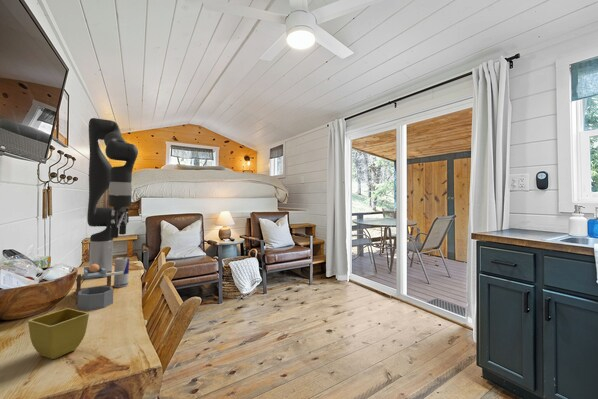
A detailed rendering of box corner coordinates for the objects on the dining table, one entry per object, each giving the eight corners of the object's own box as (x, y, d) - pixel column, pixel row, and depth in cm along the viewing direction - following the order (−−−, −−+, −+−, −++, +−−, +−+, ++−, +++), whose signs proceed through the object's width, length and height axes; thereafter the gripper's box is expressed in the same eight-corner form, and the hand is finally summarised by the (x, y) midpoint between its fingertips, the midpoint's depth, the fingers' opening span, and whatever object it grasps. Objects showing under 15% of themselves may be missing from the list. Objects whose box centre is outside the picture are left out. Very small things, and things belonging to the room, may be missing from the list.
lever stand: (75, 291, 113) (76, 270, 113) (108, 287, 119) (109, 267, 120) (75, 304, 99) (76, 280, 99) (112, 298, 106) (113, 275, 106)
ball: (88, 273, 113) (88, 264, 114) (98, 271, 115) (99, 263, 116) (88, 273, 110) (89, 264, 111) (99, 272, 113) (99, 263, 113)
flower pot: (25, 357, 66) (26, 319, 66) (66, 341, 74) (68, 307, 74) (48, 366, 63) (50, 326, 63) (88, 348, 71) (90, 312, 71)
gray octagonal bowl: (77, 303, 101) (78, 289, 101) (110, 297, 107) (111, 284, 107) (77, 312, 93) (78, 297, 93) (113, 305, 99) (114, 291, 99)
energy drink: (131, 284, 124) (132, 257, 124) (122, 287, 119) (123, 259, 119) (119, 283, 125) (120, 256, 125) (110, 287, 120) (111, 259, 120)
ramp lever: (81, 279, 112) (82, 267, 113) (118, 274, 120) (118, 263, 121) (82, 282, 102) (83, 269, 102) (123, 277, 109) (123, 265, 110)
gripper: (115, 193, 113) (114, 233, 114) (101, 193, 100) (99, 238, 100) (136, 194, 115) (135, 233, 116) (125, 194, 102) (123, 238, 102)
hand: (118, 236), depth 108 cm, fingers open, 8 cm apart
